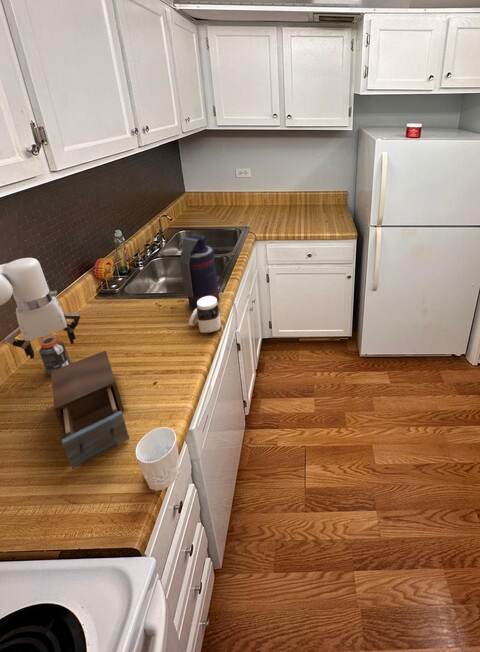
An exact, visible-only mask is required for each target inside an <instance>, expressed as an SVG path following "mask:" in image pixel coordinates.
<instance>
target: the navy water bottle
mask: <svg viewBox="0 0 480 652" xmlns="http://www.w3.org/2000/svg"><path fill="white" fill-rule="evenodd" d="M181 244H182V245H181ZM180 246H181V248H180ZM178 249H179V250H180V251H181V252H180V260H179V261H180V265H179V266H180V269H181V270H180V271H181V279H182V286H183V291H184V296H186V297H187V300H188V306H189V307H190V309H191V308H192V309H194V310H195V309H196V308H197V301H198V300H199V299H200V298H202V297H205V296H214V297H216V298H217V303H218V304H219V301H220V295H219V285H218V278H217V269H216V268H217V267H216V261H215V252H214V248H213V247H212V246H210V245H208V244H207V236H205V235H200V234H195V233H193V234H189V235H185V237H183V238H182V240H181V241H180V242H179V244H178Z"/></svg>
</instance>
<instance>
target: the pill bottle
mask: <svg viewBox="0 0 480 652" xmlns="http://www.w3.org/2000/svg"><path fill="white" fill-rule="evenodd" d="M40 346H41V348H40V349H39V355H40V358H41V360H42V363H43V366H44V368H45V371H46V374H47V375H48V376H50V377H51V371H53V370H56V369H59V368H61V367H64V366H66V365H69V364H72V363H71V361H70V357H69V354H68V351H67V348H66V346H65V343H64V342H63V341H62V340H59V338H58V337H57V336H56V335H53V336H48V337H45V338H44V339H42V340H41V341H40Z"/></svg>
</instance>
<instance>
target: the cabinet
mask: <svg viewBox="0 0 480 652" xmlns="http://www.w3.org/2000/svg"><path fill="white" fill-rule="evenodd" d="M114 375H115V374H114V372H113V369H112V366H111V362H110V359H109V357H108V353H107V350H103V351H100V352H98V353H95V354H93V355H89V356H88V357H85V358H82V359H80V360H77V361H74V362H72V363H71V364H69V365H66V366H64V367H61V368H59V369H56V370H53V371H51V376H50V377H51V387H52V388H51V389H52V398H53V409H54V412H55V415H56V417H57V419H58V422H59V424H60V427H61V430H62V432H63V434H64V438H66V437H67V435H66V431H65V423H64V414H63V408H64V407H67V406H69V405H71V404H73V403H76V402H78V401H80V400H82V399H84V398H87V397H89V396H91V395H93V394H96V393H98V392H100V391H102V390H105V389H107V388H109V387H110V388H111V391H112V394H113V398H114V401H115V404H116V408H117V411H118V412H119V411H122V412H124V411H125V408H124V406H123V402H122V398H121V396H120V391H119V389H118V385H117V382H116V379H115V376H114Z"/></svg>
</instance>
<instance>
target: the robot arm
mask: <svg viewBox="0 0 480 652" xmlns="http://www.w3.org/2000/svg"><path fill="white" fill-rule="evenodd" d="M57 295H58V292H57V290H50V288H49V285H48V283H47V280H46V277H45V273H44V272H43V269H42V266H41V263H40V261H39V260H38V259H37V258H33V257H24V258H23V257H22V258H18V259H15V260H13V261H10V262H8V263H2V264H0V306H3V305H5V304H6V303H8V301H9V300H10V299H11V298H12V297H13V299H14V301H15V303H16V306H17V307H16V308H15V314H16V320H17V323H18V327H17V328H16V329H15V330H13V331H12V332H11V333H10V334H8V335H7V336H6V337H5V342H7V343H8V344H10V345H12V346H14V347H17V348H20V349H22V350H24V353H25V356H27V357H28V356H29V357H30V360H32V359H34V358H35V350H34V349H33V348H34V347H33V346H32V344H31V342H32V341H34V340H37V339H40V338H44V337H46V336H50V335H52V334H55V333H58V332H61V331H65V332H66V333H67V337H68V339H69V342H70V344H71V345H73V344H75V341H74V340H76V335H75V332H74V331H75V329H76V327H78V325H79V322H80V319H81V315H80V313H72V312H71V313H70V312H64V310H63V308H62V306H61V304H60V301H58V299H57V297H56V296H57ZM67 320H72V322H71V323H68V322H67ZM19 335H21V336H22V339H18V338H17V337H18V336H19Z"/></svg>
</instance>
